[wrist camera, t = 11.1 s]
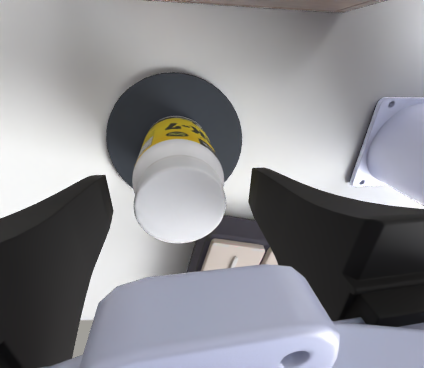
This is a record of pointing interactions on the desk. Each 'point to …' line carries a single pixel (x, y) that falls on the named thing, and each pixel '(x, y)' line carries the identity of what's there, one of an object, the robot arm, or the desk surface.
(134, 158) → the coaster
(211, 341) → the robot arm
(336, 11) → the box
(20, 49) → the desk surface
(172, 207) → the supplement bottle
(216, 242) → the calculator
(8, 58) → the desk surface
